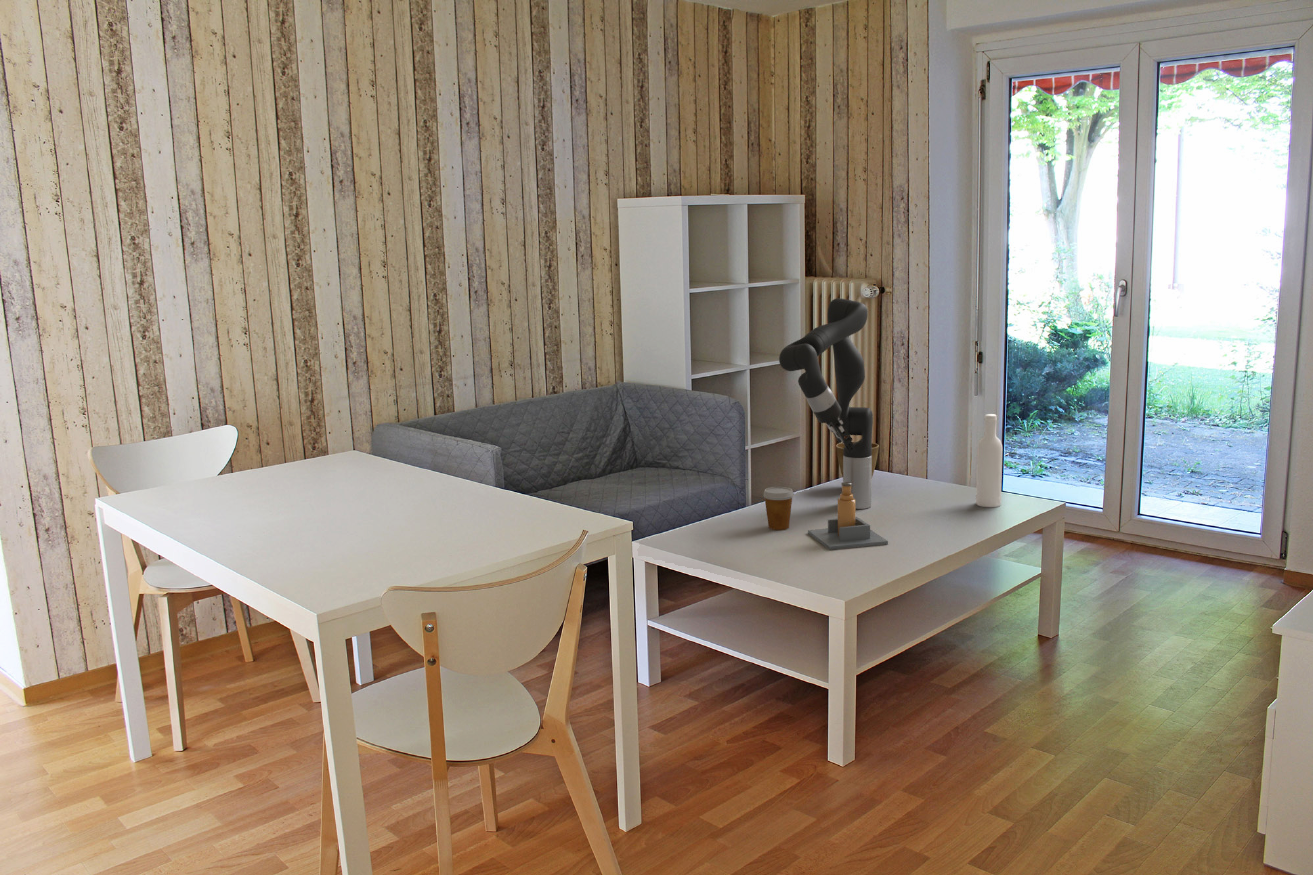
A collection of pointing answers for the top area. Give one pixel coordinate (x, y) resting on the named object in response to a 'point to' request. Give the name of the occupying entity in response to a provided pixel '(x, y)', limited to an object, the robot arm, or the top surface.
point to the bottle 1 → (846, 507)
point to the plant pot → (841, 446)
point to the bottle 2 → (989, 466)
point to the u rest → (847, 535)
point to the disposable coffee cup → (778, 507)
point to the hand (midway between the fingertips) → (847, 446)
